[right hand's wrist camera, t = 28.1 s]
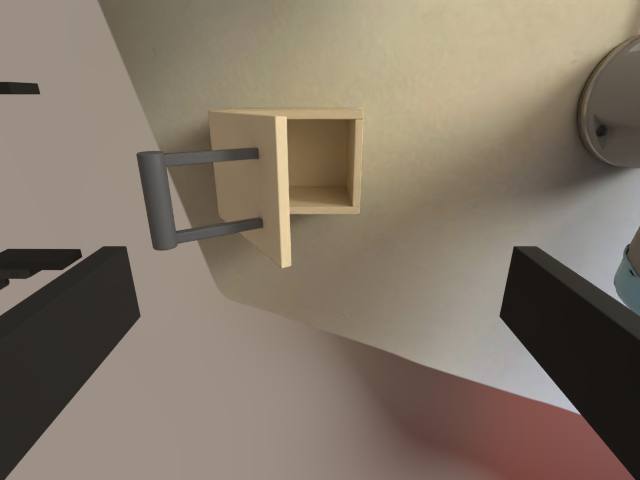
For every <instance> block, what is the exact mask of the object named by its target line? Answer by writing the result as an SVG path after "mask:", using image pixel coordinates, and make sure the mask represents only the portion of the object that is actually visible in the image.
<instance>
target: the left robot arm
mask: <svg viewBox="0 0 640 480" xmlns="http://www.w3.org/2000/svg"><path fill="white" fill-rule="evenodd" d="M0 94H40V91H39V88H38V84H36V83H17V82H0ZM81 257H82V254H81V250H80V249H7V250H5V251H3V252H1V253H0V290H1V289H3V288H4V287H6V286H8V285H9V279H14V278H15V279H19V278H20V279H26V278H29V277H31V276H33V275H35V274H36V273H38V272H39V271H41V270H63V269H64V268H66V267H68V266H69V265H71V264H72V263H74V262H75V261H77V260H78V259H80V258H81Z"/></svg>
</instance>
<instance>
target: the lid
mask: <svg viewBox="0 0 640 480" xmlns="http://www.w3.org/2000/svg"><path fill="white" fill-rule="evenodd" d="M208 117H209V127H210V137H211V146H212V150H209V151H194V152H179V153H165V154H164V152H161V151H146V152H139V153H137V160H138V166H139V171H140V177H141V183H142V188H143V194H144V200H145V205H146V211H147V216H148V222H149V228H150V233H151V239H152V244H153V248H154V249H155V250H169V249H172V248H175V247H176V246H177V244H178V243H183V242H189V241H194V240H200V239H205V238H211V237H216V236H221V235H227V234H232V233H238V232H239V233H240V234H241V235H242V236H243V237H245V238H246V239H247V240H248V241H249V242H250V243H252V244H253V245H254V246H255V247H256V248H258V249H259V250H260V251H261V252H262V253H264V254H265V255H266V256H267V257H268V258H270V259H271V260H272V261H273V262H274V263H276V264H277V265H278V266H279V267H280V268H285V267H289V266H291V243H290V212H289V180H288V149H287V118H286V116H279V115H265V114H252V113H238V112H225V111H208ZM212 162H213V165H214V175H215V184H216V194H217V203H218V213H219V217H221V218H222V219H223V220H224V221H225V222H227V223H221V224H215V225H209V226H203V227H198V228H192V229H186V230H180V231H176V229H175V223H174V216H173V209H172V203H171V196H170V190H169V183H168V176H167V170H166V166H177V165H189V164H201V163H212Z"/></svg>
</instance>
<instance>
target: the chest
mask: <svg viewBox="0 0 640 480" xmlns="http://www.w3.org/2000/svg"><path fill="white" fill-rule="evenodd" d="M217 111H225V112H238V113H252V114H265V115H279V116H286V118H287V149H288V180H289V212H290V214H360V193H361V167H362V142H363V117H364V111H363V110H358V109H354V108H238V109H227V110H217Z"/></svg>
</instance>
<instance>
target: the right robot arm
mask: <svg viewBox="0 0 640 480" xmlns="http://www.w3.org/2000/svg"><path fill="white" fill-rule="evenodd" d="M577 122H578V130H579V134H580V137H581V140H582V142H583V144H584V145H585V147H586V149H587V150H588V151H589V152H590V153H591V154H592V155H593V156H594V157H596V158H597V159H599V160H601V161H602V162H605V163H607V164H611V165H615V166H620V167H626V168H640V35H637V36H635V37H633V38H631V39H629V40H627V41H625V42H624V43H622V44H621V45H619V46H618V47H616V48H615V49H614V50H613V51H611V52H610V53H609V54H608V55H607V56H606V57H605V58H604V59H603V60H602V61H601V62H600V63H599V65H598V66H597V67H596V68H595V70H594V71H593V73H592V74H591V76H590V78H589V79H588V81H587V83H586V85H585V87H584V89H583V92H582V95H581V98H580V102H579V107H578V115H577ZM614 285H615V288H616V292H617V294H618V296H619V297H620V299H621V300H622V301H623V302H624V303H625V305H626V306H627V307H628V308H627V307H626V306H624V305H623V304H621V303H620V302H618V301H617V300H615V299H614V298H612V297H611V296H609V295H608V294H606V293H605V292H604V291H602V290H601V289H599V288H598V287H596V286H595V285H593V284H592V283H590V282H589V281H587V280H586V279H584V278H583V277H581V276H580V275H578V274H577V273H575V272H574V271H572V270H571V269H569V268H568V267H566V266H565V265H563V264H562V263H560V262H559V261H557V260H556V259H554V258H553V257H551V256H550V255H549V254H547V253H546V252H544V251H543V250H541V249H540V248H538V247H537V246H514V248H513V253H512V258H511V263H510V268H509V273H508V277H507V282H506V287H505V292H504V297H503V302H502V307H501V312H500V318H501V319H502V320H503V321H504V322H505V324H506V325H507V326H508V327H509V328H510V330H511V331H512V332H513V333H514V334H515V336H516V337H517V338H518V339H519V340H520V342H521V343H522V344H523V345H524V346H525V348H526V349H527V350H528V351H529V352H530V354H531V355H532V356H533V357H534V358H535V360H536V361H537V362H538V363H539V364H540V366H541V367H542V368H543V369H544V370H545V372H546V373H547V374H548V375H549V376H550V378H551V379H552V380H553V381H554V382H555V384H556V385H557V386H558V387H559V388H560V390H561V391H562V392H563V393H564V394H565V396H566V397H567V398H568V399H569V400H570V402H571V403H572V404H573V405H574V406H575V408H576V409H577V410H578V411H579V412H580V414H581V415H582V416H583V417H584V418H585V420H586V421H587V422H588V423H589V424H590V426H591V427H592V428H593V429H594V430H595V432H596V433H597V434H598V435H599V436H600V438H601V439H602V440H603V441H604V442H605V444H606V445H607V446H608V447H609V448H610V450H611V451H612V452H613V453H614V454H615V456H616V457H617V458H618V459H619V460H620V462H621V463H622V464H623V465H624V466H625V468H626V469H627V470H628V471H629V473H630V474H631V475H632V476H633V477H634V478H635V480H640V227H639V229H638V231H637V233H636V234H635V236H634V238H633V240H632V242H631V243H630V244H628V245H627V246H626V248H625V250H624V255H623V259H622V262H621V264H620V266H619V268H618V270H617V272H616V274H615V277H614ZM629 308H630V309H631V310H630V309H629ZM139 318H140V312H139V307H138V302H137V297H136V292H135V287H134V282H133V277H132V273H131V268H130V263H129V258H128V253H127V248H126V246H104V247H102V248H100V249H99V250H98V251H96V252H94V253H93V254H91V255H90V256H89V257H87V258H86V259H84V260H83V261H81V262H80V263H78V264H77V265H75V266H74V267H72V268H71V269H69V270H68V271H66V272H65V273H63V274H62V275H60V276H59V277H57V278H56V279H54V280H53V281H51V282H50V283H48V284H47V285H45V286H44V287H42V288H41V289H39V290H38V291H36V292H35V293H34V294H32V295H31V296H29V297H28V298H26V299H25V300H23V301H22V302H20V303H19V304H17V305H16V306H14V307H13V308H11V309H10V310H8V311H7V312H5V313H4V314H2V315H1V316H0V480H5V479H6V477H7V476H8V475H9V474H10V472H11V471H12V470H13V469H14V468H15V466H16V465H17V464H18V463H19V462H20V460H21V459H22V458H23V457H24V456H25V454H26V453H27V452H28V451H29V450H30V448H31V447H32V446H33V445H34V444H35V442H36V441H37V440H38V439H39V438H40V436H41V435H42V434H43V433H44V432H45V430H46V429H47V428H48V427H49V426H50V424H51V423H52V422H53V421H54V420H55V418H56V417H57V416H58V415H59V414H60V412H61V411H62V410H63V409H64V408H65V406H66V405H67V404H68V403H69V402H70V400H71V399H72V398H73V397H74V396H75V394H76V393H77V392H78V391H79V390H80V388H81V387H82V386H83V385H84V384H85V382H86V381H87V380H88V379H89V378H90V376H91V375H92V374H93V373H94V372H95V370H96V369H97V368H98V367H99V366H100V364H101V363H102V362H103V361H104V360H105V358H106V357H107V356H108V355H109V354H110V352H111V351H112V350H113V349H114V348H115V346H116V345H117V344H118V343H119V341H120V340H121V339H122V338H123V337H124V336H125V334H126V333H127V332H128V331H129V330H130V328H131V327H132V326H133V325H134V324H135V322H136V321H137V320H138V319H139Z"/></svg>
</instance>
